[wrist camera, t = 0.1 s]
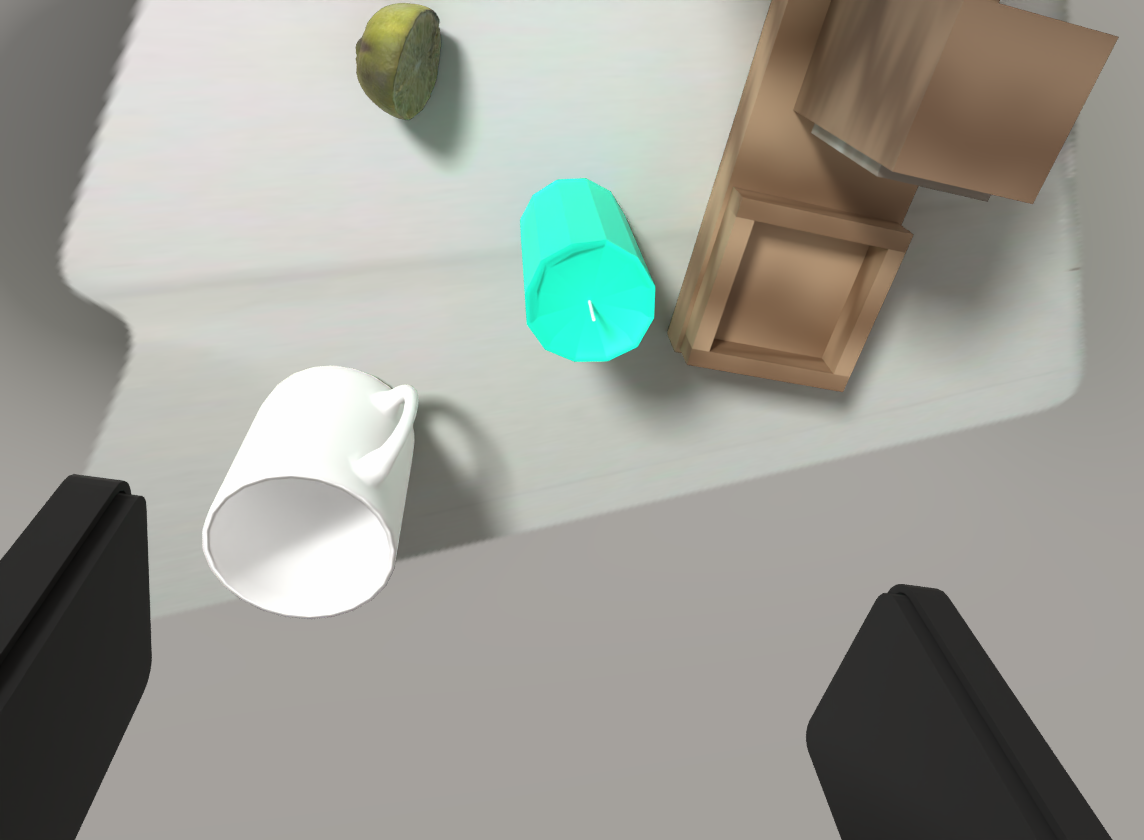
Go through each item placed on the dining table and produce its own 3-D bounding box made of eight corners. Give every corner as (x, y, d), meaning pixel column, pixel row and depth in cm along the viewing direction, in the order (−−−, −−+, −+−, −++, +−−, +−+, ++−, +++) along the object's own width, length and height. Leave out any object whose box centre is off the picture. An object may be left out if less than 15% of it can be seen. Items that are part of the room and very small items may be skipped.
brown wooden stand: (798, -85, 38) (940, -90, 26) (985, -31, 40) (1200, -13, 28) (667, 333, 49) (723, 469, 37) (819, 361, 51) (921, 500, 39)
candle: (648, 227, 46) (691, 314, 36) (574, 301, 48) (594, 404, 38) (570, 153, 43) (592, 223, 33) (496, 235, 45) (495, 325, 35)
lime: (430, -13, 39) (421, -6, 35) (468, 89, 41) (465, 108, 37) (344, 20, 39) (325, 32, 35) (387, 119, 42) (374, 141, 38)
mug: (236, 449, 51) (172, 575, 41) (320, 298, 46) (271, 399, 36) (373, 511, 54) (345, 642, 44) (464, 375, 50) (456, 488, 40)
